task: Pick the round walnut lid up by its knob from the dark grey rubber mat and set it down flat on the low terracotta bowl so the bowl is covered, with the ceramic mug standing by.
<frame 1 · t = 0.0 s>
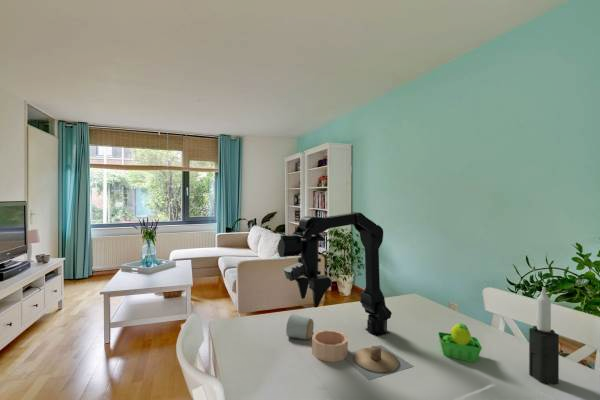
hand: (309, 302, 97), 15 cm above the table, fingers open, 9 cm apart
mat: (375, 362, 89), on the table
lid: (375, 360, 89), resting on mat
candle: (543, 379, 81), on the table
bowl: (329, 353, 93), on the table
fruit basket: (459, 357, 93), on the table
ceramic mug: (300, 336, 106), on the table
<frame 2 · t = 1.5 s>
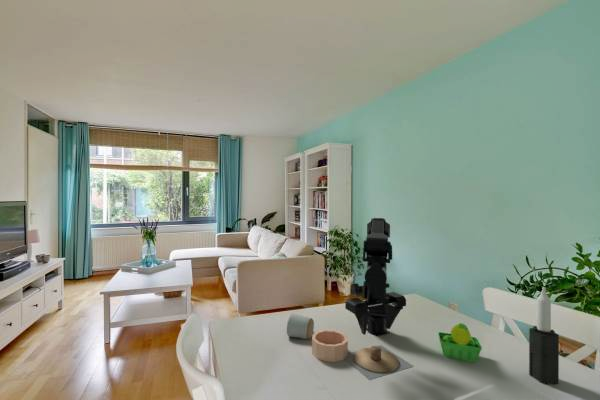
hand: (376, 331, 89), 9 cm above the table, fingers open, 9 cm apart
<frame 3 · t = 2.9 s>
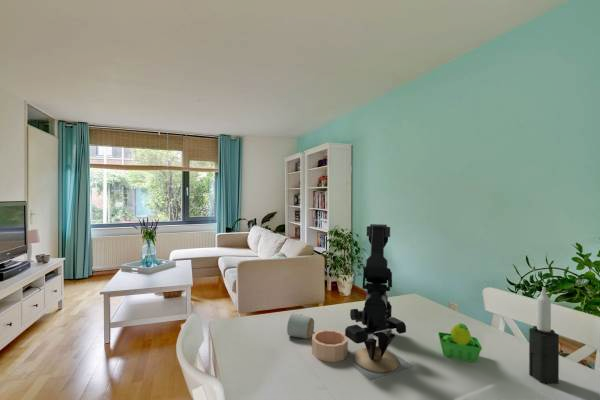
hand: (375, 358, 89), 1 cm above the table, fingers closed on lid, 3 cm apart
lid: (375, 360, 89), resting on mat, touching gripper
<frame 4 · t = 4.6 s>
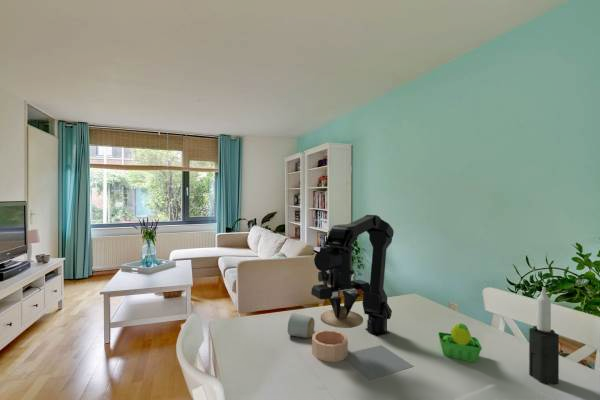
hand: (341, 316, 92), 12 cm above the table, fingers closed on lid, 3 cm apart
lid: (341, 319, 92), point 11 cm above the table, touching gripper
when the fingers open (7 cm above the table, at t = 6.1 s): lid stays where it is, resting on bowl.
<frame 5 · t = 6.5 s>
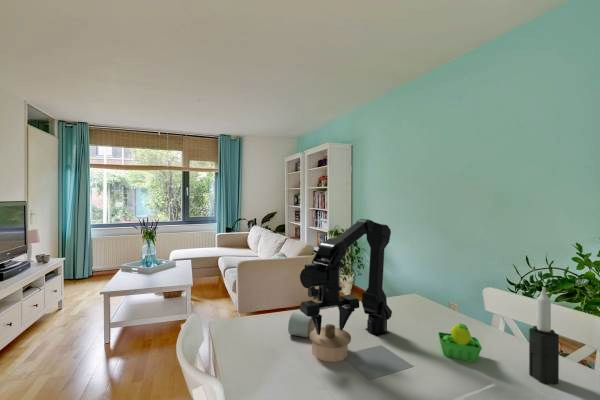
hand: (329, 332, 93), 7 cm above the table, fingers open, 8 cm apart
lid: (330, 337, 93), point 5 cm above the table, touching bowl
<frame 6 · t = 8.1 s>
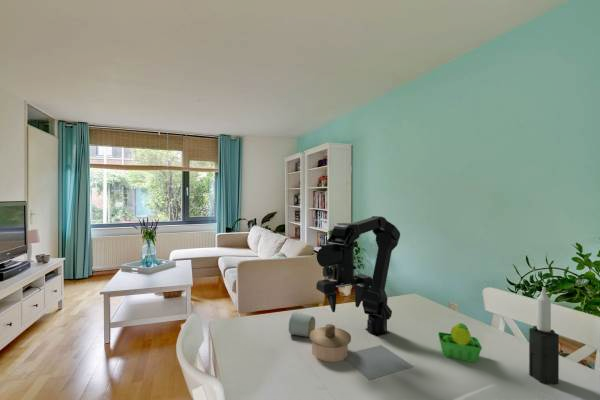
hand: (345, 309, 97), 13 cm above the table, fingers open, 9 cm apart
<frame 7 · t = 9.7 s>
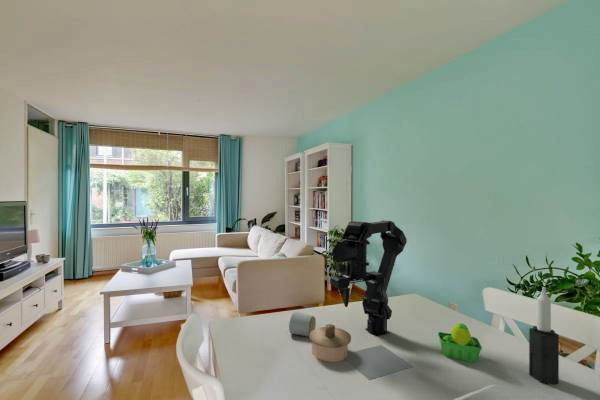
hand: (357, 304, 100), 13 cm above the table, fingers open, 9 cm apart
at the end: lid 0.1 cm from the bowl (horizontally); lid point 5.0 cm above the table; lid tilted 0° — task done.
